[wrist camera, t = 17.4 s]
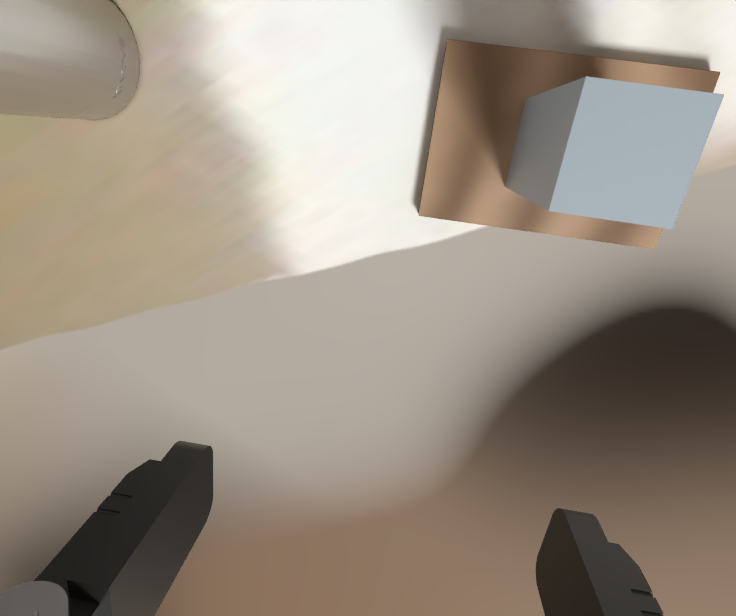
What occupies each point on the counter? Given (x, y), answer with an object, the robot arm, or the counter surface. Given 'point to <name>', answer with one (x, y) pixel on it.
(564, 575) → the robot arm
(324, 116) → the counter surface
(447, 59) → the walnut board
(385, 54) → the counter surface
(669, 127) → the tall pale blue block
